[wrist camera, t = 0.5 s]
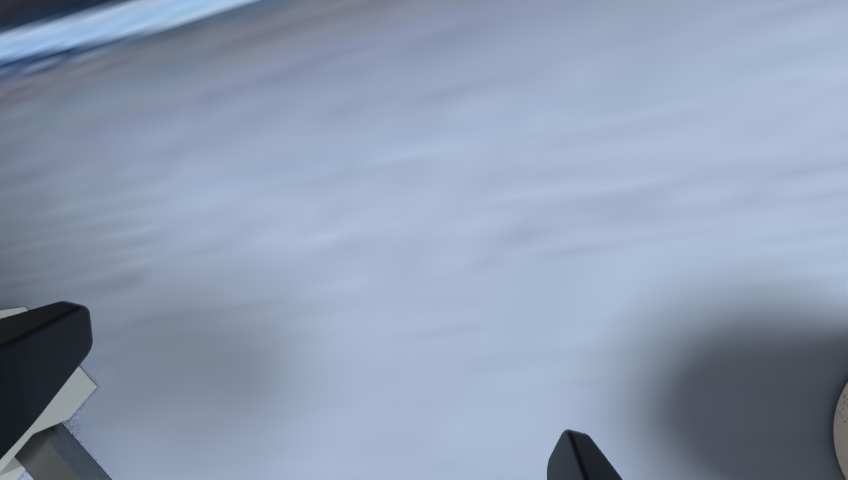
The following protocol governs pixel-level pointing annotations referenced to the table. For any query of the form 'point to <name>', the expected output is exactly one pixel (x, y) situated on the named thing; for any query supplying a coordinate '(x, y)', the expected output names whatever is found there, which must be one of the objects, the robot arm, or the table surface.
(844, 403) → the teacup with lid
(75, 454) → the brown block with rod
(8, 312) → the cream block on base
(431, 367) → the table surface
